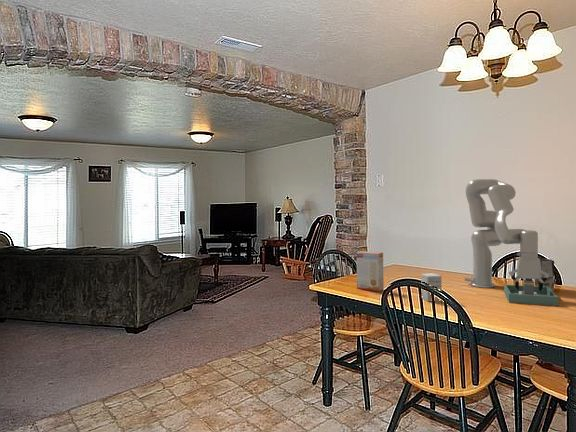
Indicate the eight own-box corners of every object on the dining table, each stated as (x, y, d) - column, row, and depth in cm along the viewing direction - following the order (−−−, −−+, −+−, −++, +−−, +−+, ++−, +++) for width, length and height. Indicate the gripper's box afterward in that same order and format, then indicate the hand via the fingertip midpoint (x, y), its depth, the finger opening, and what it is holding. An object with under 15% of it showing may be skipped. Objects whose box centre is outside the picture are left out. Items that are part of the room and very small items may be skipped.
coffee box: (554, 291, 215) (554, 260, 214) (540, 291, 216) (541, 260, 215) (547, 287, 224) (547, 258, 223) (534, 287, 225) (534, 258, 224)
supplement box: (421, 298, 206) (420, 273, 205) (435, 297, 206) (435, 272, 206) (427, 302, 198) (427, 276, 198) (442, 301, 199) (441, 275, 198)
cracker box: (384, 290, 225) (383, 252, 224) (378, 292, 221) (378, 253, 220) (362, 286, 235) (362, 250, 234) (356, 288, 230) (356, 251, 230)
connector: (524, 296, 202) (524, 279, 201) (523, 294, 205) (523, 277, 205) (534, 297, 200) (534, 279, 200) (532, 295, 204) (532, 277, 203)
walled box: (508, 302, 195) (508, 293, 194) (503, 292, 215) (504, 284, 215) (558, 305, 187) (558, 297, 187) (548, 295, 207) (548, 287, 207)
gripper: (509, 255, 202) (509, 290, 202) (551, 257, 195) (550, 292, 196) (508, 253, 209) (508, 287, 209) (547, 255, 202) (547, 289, 203)
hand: (528, 289), depth 203 cm, fingers open, 9 cm apart
